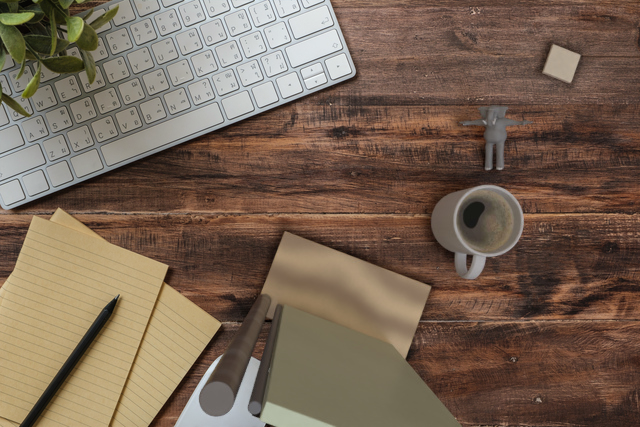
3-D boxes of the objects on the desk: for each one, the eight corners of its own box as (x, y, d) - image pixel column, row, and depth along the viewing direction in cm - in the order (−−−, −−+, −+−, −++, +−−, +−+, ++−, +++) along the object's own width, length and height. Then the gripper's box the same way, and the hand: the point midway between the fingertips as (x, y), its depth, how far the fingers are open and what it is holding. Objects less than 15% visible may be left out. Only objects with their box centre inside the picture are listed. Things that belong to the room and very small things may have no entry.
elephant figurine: (452, 172, 69) (451, 108, 66) (467, 162, 73) (467, 102, 70) (525, 176, 63) (527, 107, 60) (537, 165, 67) (539, 100, 65)
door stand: (400, 365, 67) (552, 559, 27) (252, 310, 67) (186, 427, 27) (429, 285, 68) (618, 360, 28) (283, 230, 67) (263, 226, 27)
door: (386, 360, 66) (507, 533, 28) (271, 318, 65) (236, 435, 28) (392, 344, 66) (521, 494, 28) (277, 301, 66) (251, 395, 28)
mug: (461, 178, 69) (488, 169, 59) (507, 226, 69) (542, 225, 59) (408, 231, 68) (427, 231, 58) (454, 279, 68) (481, 287, 58)
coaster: (569, 83, 70) (571, 82, 70) (541, 73, 70) (543, 71, 69) (578, 56, 70) (581, 54, 70) (551, 45, 70) (553, 43, 70)
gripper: (221, 483, 53) (264, 360, 64) (379, 540, 53) (393, 408, 65) (238, 446, 45) (283, 315, 57) (421, 513, 46) (429, 370, 57)
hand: (348, 355), depth 59 cm, fingers closed
